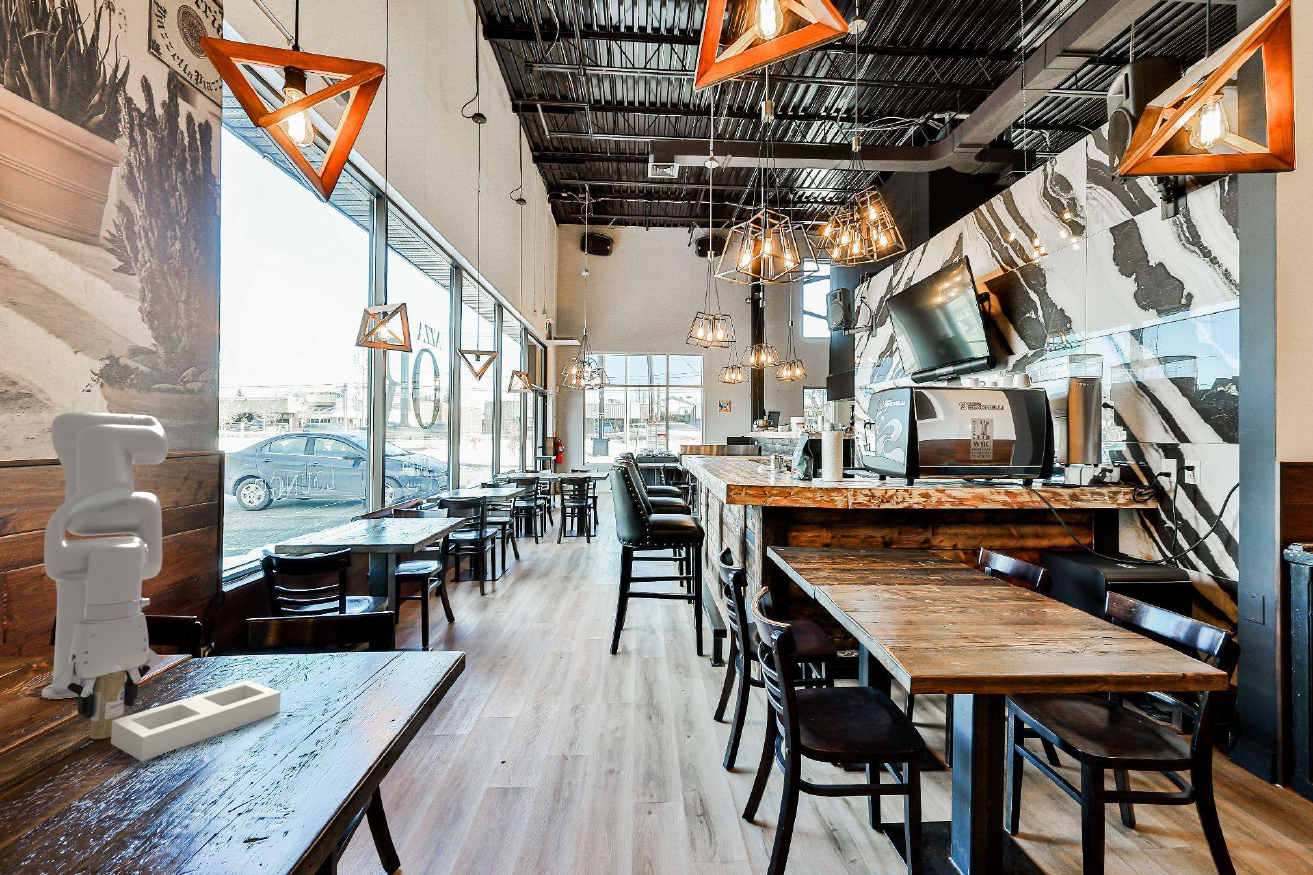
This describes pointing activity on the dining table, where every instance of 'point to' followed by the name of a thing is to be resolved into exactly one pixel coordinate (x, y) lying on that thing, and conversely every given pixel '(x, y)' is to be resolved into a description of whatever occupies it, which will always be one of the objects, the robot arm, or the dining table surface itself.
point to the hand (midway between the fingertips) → (107, 709)
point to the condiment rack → (193, 719)
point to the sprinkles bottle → (107, 702)
